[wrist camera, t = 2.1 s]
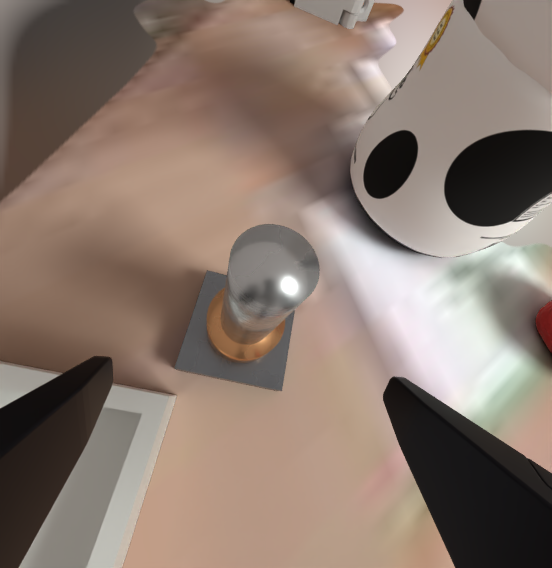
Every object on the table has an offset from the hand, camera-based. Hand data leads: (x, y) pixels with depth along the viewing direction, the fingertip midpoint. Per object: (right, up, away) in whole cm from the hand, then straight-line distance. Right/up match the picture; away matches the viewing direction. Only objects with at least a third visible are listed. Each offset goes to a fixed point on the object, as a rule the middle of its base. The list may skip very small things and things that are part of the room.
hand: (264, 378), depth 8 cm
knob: (-2, 0, +10) cm, 10 cm away
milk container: (+15, +12, +21) cm, 29 cm away
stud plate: (-2, -1, +11) cm, 11 cm away
